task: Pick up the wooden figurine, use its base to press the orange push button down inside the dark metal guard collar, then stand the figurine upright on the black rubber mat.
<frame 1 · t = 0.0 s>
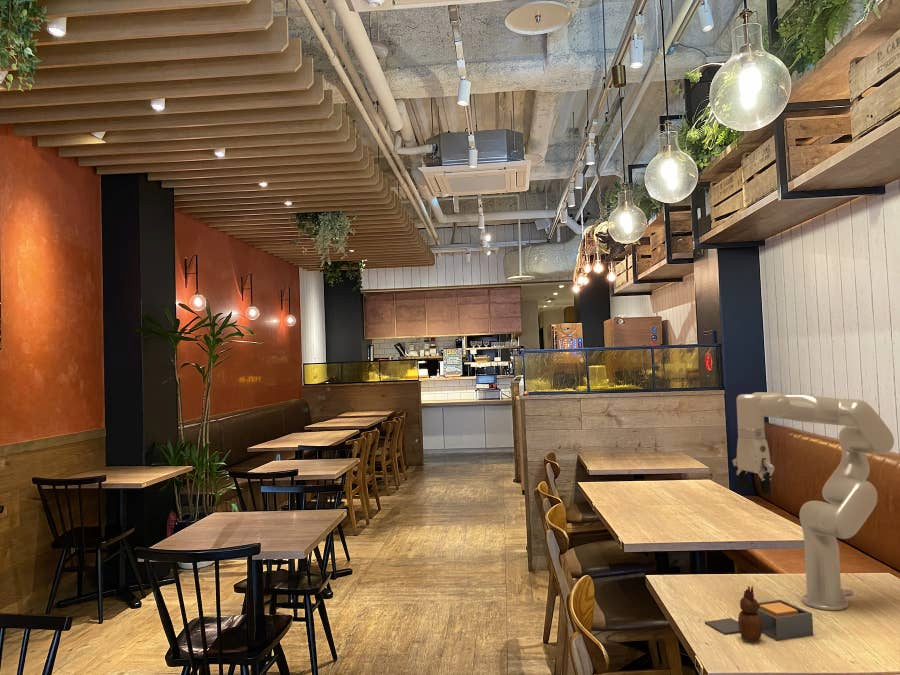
hand: (754, 490, 210), 37 cm above the table, tool pointing down, fingers open, 9 cm apart
button: (778, 610, 195), point 6 cm above the table, slide at 0.0 cm
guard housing: (779, 630, 195), on the table
wooden figurine: (750, 640, 189), on the table
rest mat: (728, 627, 198), on the table
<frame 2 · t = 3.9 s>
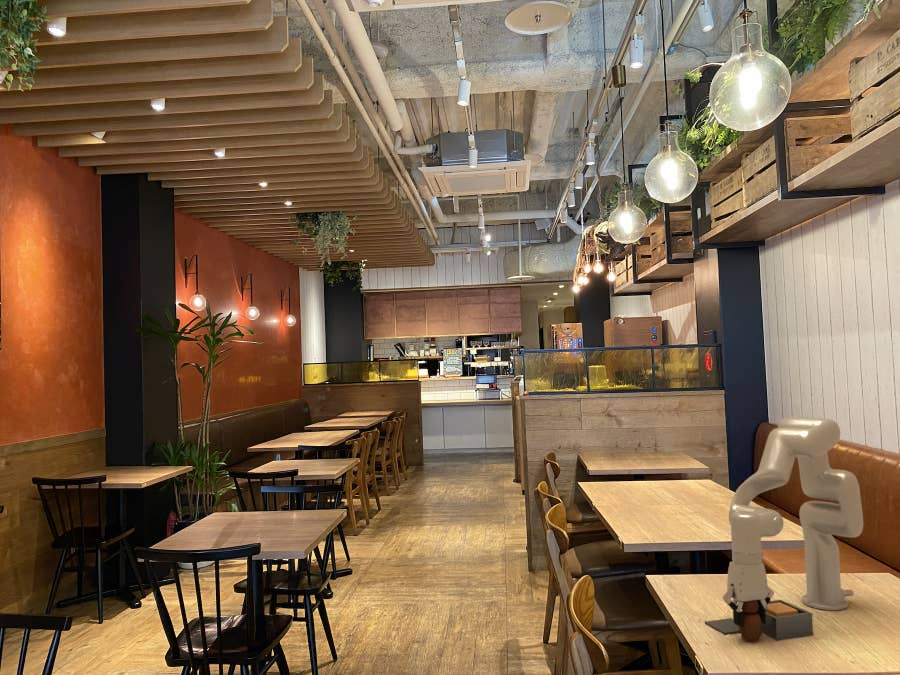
hand: (749, 623, 189), 4 cm above the table, tool pointing down, fingers closed on wooden figurine, 6 cm apart
wooden figurine: (750, 640, 188), on the table, touching gripper
everything else where it was.
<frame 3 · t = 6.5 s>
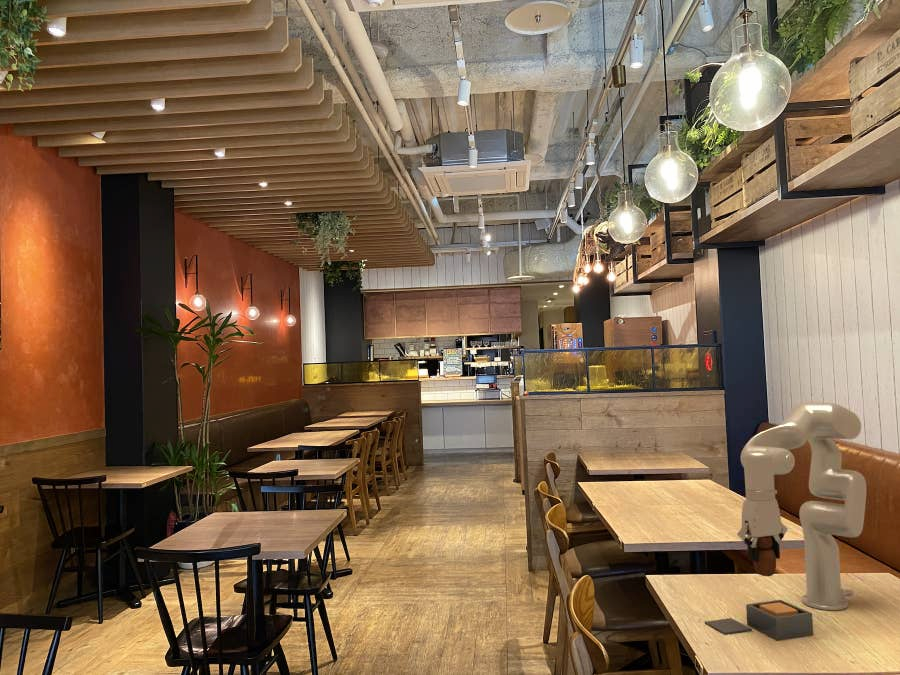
hand: (764, 558, 193), 21 cm above the table, tool pointing down, fingers closed on wooden figurine, 6 cm apart
wooden figurine: (765, 575, 193), point 16 cm above the table, touching gripper
everything else where it was.
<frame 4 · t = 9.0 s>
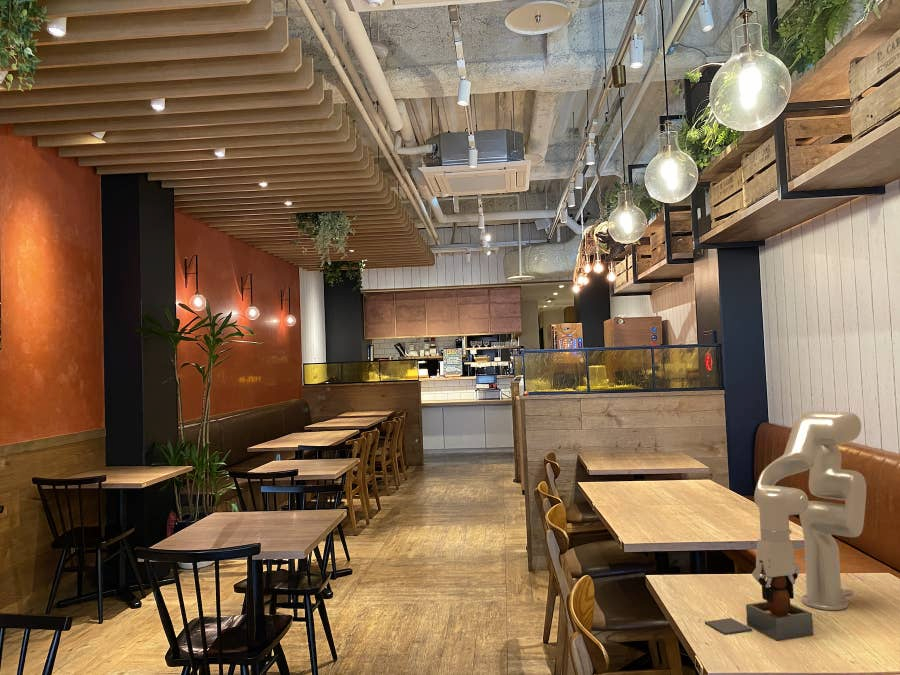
hand: (778, 598, 195), 9 cm above the table, tool pointing down, fingers closed on wooden figurine, 6 cm apart
button: (778, 617, 195), point 4 cm above the table, slide at 1.9 cm, touching wooden figurine
wooden figurine: (779, 614, 195), point 4 cm above the table, touching button, gripper
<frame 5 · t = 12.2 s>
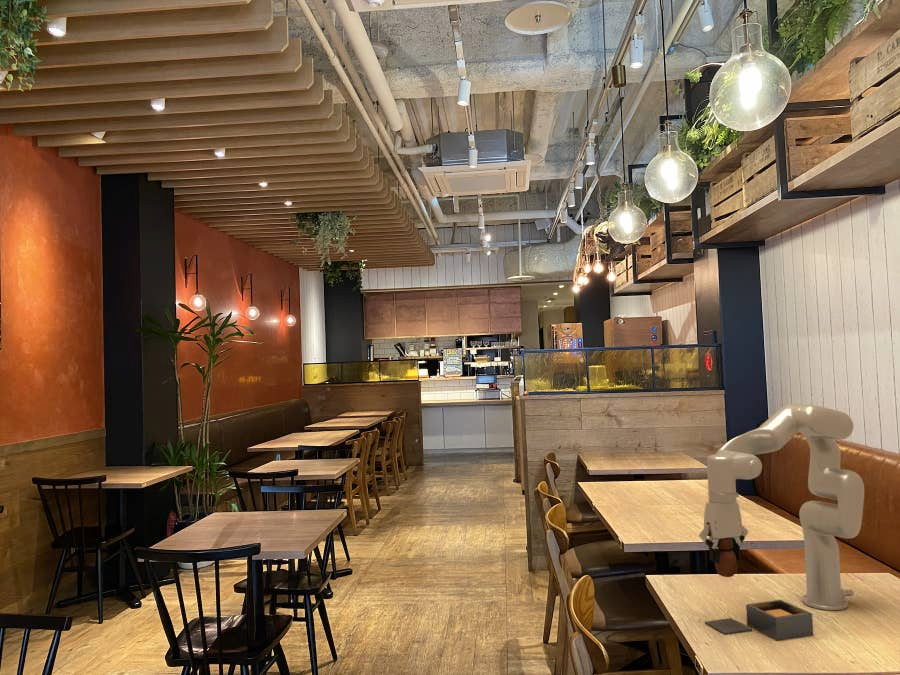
hand: (725, 559, 199), 19 cm above the table, tool pointing down, fingers closed on wooden figurine, 6 cm apart
button: (778, 617, 195), point 4 cm above the table, slide at 1.9 cm
wooden figurine: (726, 576, 198), point 15 cm above the table, touching gripper
when the fingers open (6 cm above the table, at t = 14.9 s): wooden figurine stays where it is, resting on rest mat.
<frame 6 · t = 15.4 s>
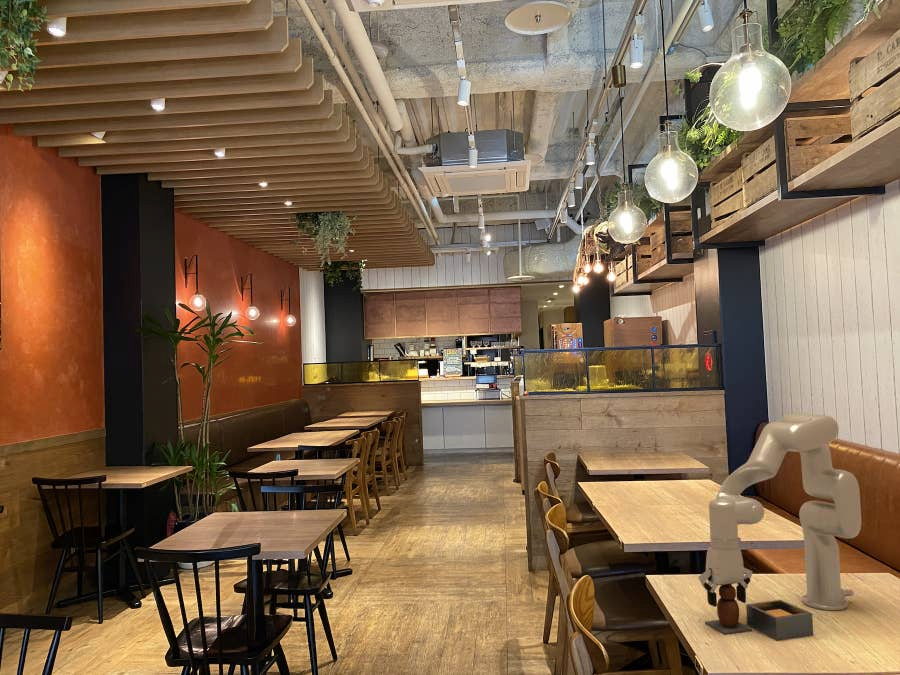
hand: (727, 603, 198), 7 cm above the table, tool pointing down, fingers open, 9 cm apart
wooden figurine: (728, 625, 198), resting on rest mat
everything else where it was.
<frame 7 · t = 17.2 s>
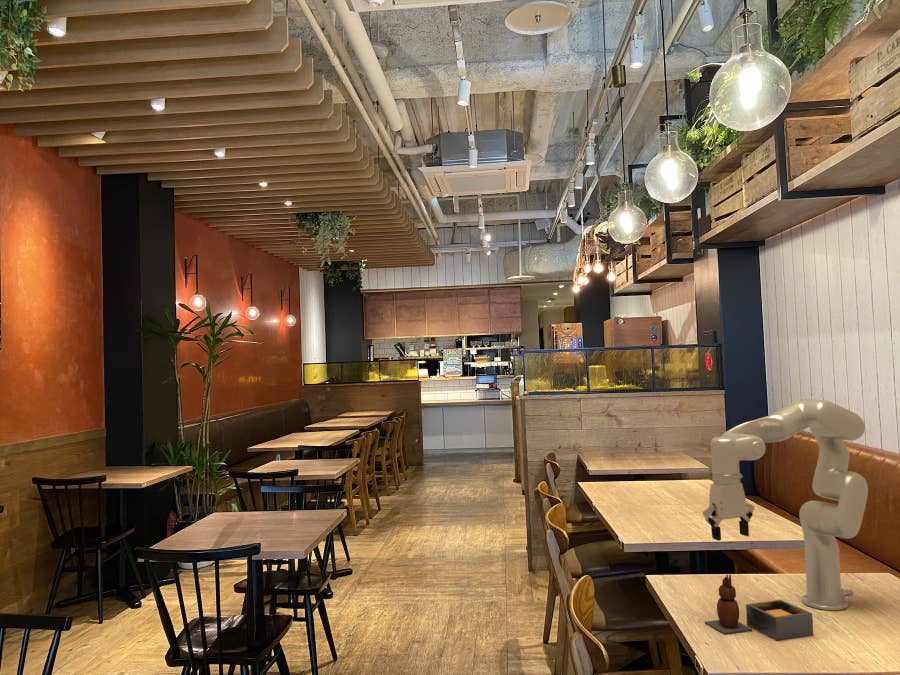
hand: (730, 537, 203), 25 cm above the table, tool pointing down, fingers open, 9 cm apart
nothing on the table moved.
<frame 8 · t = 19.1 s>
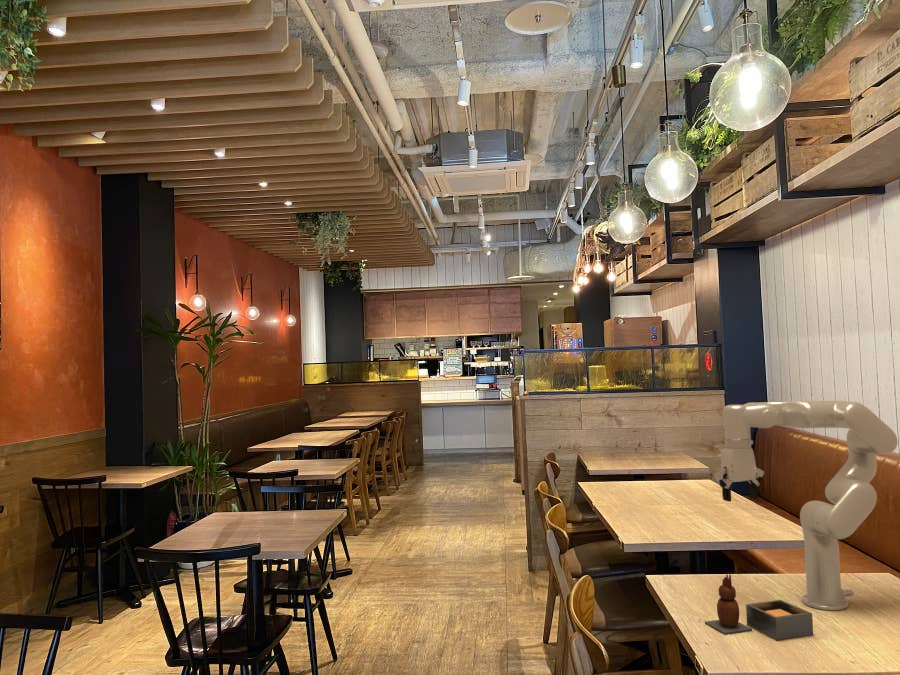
hand: (740, 499, 214), 33 cm above the table, tool pointing down, fingers open, 9 cm apart
nothing on the table moved.
at the end: button slide at 1.9 cm; wooden figurine inside the target area on the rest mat (0.2 cm from its centre), point 0.4 cm above the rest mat's base; wooden figurine tilted 0° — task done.
